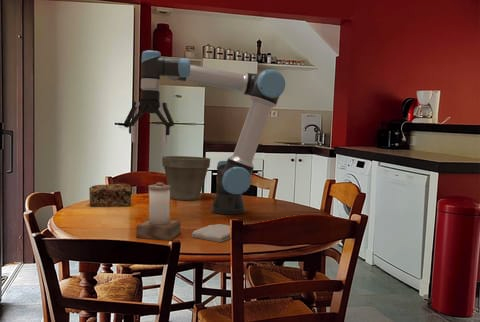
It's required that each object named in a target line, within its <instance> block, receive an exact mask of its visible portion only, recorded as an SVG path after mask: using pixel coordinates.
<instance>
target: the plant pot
mask: <svg viewBox="0 0 480 322" xmlns="http://www.w3.org/2000/svg"><path fill="white" fill-rule="evenodd" d="M161 158H162V160H161V163H162V167H163V169H164V174H165V178H166V182H167V183H166V184H167V185H170V186H171V189H170V199H172V200H178V201H196V200H199V199H200V196H201V192H202V191H203V190H202V189H203V186H204V183H205V181H206V176H207V173H208V170H209V168H210V166H211V158H210V157H203V156H187V155H185V156H184V155H170V156H169V155H168V156H167V155H165V156H162V157H161Z"/></svg>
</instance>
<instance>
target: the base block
mask: <svg viewBox="0 0 480 322" xmlns="http://www.w3.org/2000/svg"><path fill="white" fill-rule="evenodd" d="M180 233H181V221H179V220H169V224H166V225H152V224H149V218H148V219H146V220H145V221H143V222H141V223H140V224H137V225H136V239H137V238H138V239H148V240H162V241H163V240H164V241H172V240H173V239H174V238H175V237H177V236H178V235H179V234H180Z"/></svg>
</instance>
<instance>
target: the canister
mask: <svg viewBox="0 0 480 322" xmlns="http://www.w3.org/2000/svg"><path fill="white" fill-rule="evenodd" d="M170 189H171V186H170V185H168V184H164V182H156V184H150V185H148V190H149V194H148V195H149V198H148V199H149V200H148V201H149V203H148V204H149V205H148V219H149V224H152V225H166V224H169V221H170V217H171V216H170V210H171V209H170V207H171V206H170V204H171V203H170V202H171V196H170Z"/></svg>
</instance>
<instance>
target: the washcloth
mask: <svg viewBox="0 0 480 322" xmlns="http://www.w3.org/2000/svg"><path fill="white" fill-rule="evenodd" d="M191 236H192V238H194V239H199V240H204V241H205V240H206V241H210V242H217V243H222V242H225V241H228V240H230V225H227V224H220V223H216V224H209V225H207V226H205V227H201V228H198V229H195V230H194V231H193V232H192V234H191Z"/></svg>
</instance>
